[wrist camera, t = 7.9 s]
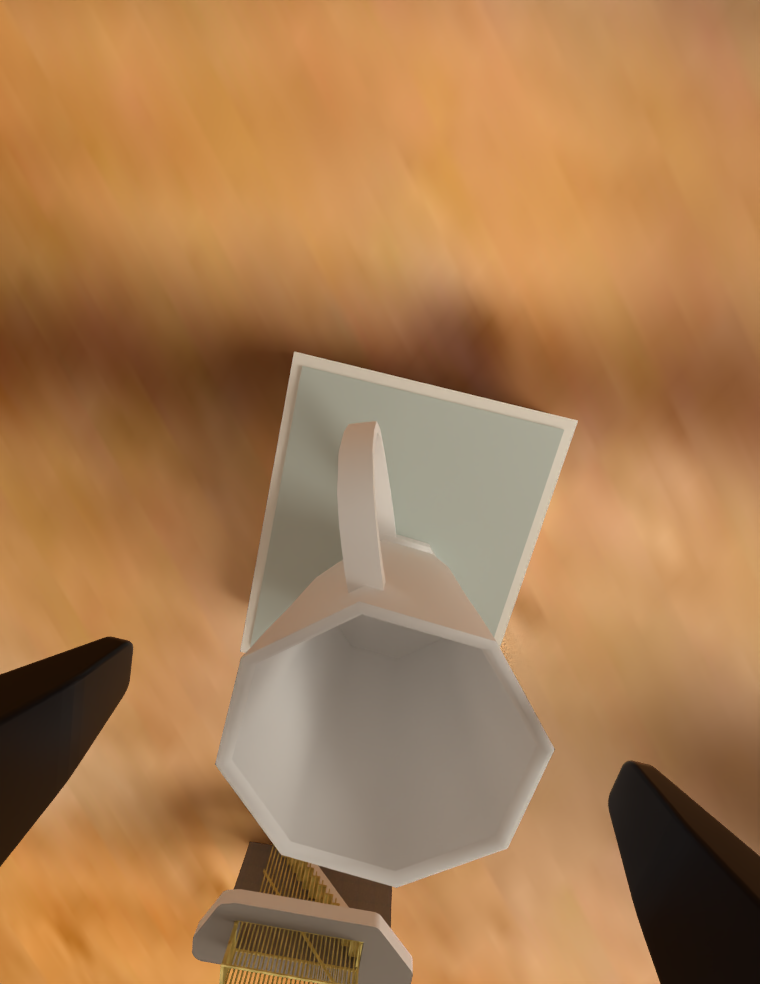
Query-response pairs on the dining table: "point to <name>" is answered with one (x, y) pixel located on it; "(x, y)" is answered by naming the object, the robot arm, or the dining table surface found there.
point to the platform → (302, 925)
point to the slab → (408, 484)
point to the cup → (381, 707)
